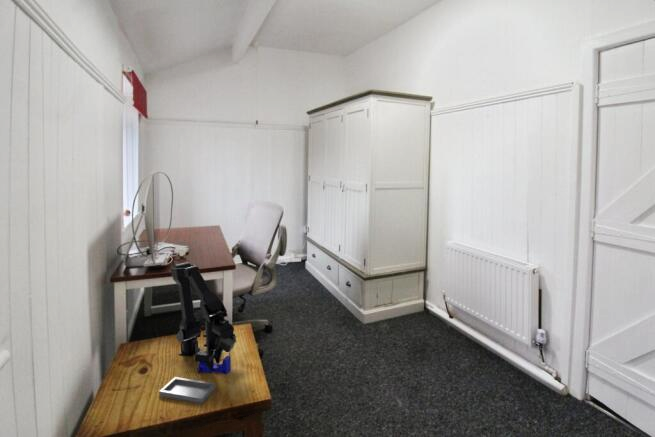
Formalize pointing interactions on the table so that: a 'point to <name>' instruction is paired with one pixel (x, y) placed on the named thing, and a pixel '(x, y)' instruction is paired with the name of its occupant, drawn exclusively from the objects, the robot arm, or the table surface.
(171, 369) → the table surface
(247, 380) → the table surface
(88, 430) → the table surface
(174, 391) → the tray
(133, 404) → the table surface
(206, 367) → the blue curved cradle
